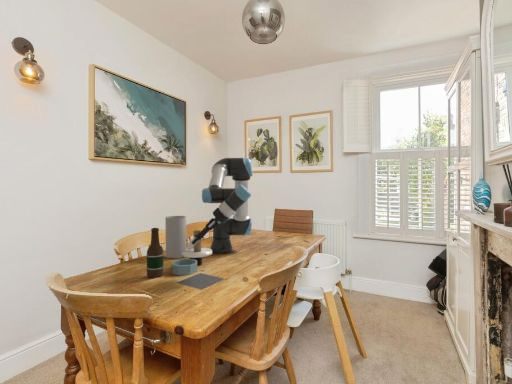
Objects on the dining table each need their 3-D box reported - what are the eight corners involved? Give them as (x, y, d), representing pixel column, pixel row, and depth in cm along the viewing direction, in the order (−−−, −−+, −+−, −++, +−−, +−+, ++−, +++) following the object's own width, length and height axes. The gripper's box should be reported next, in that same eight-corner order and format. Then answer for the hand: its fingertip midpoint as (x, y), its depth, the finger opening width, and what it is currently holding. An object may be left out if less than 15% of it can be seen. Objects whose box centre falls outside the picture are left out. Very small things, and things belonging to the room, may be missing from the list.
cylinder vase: (174, 252, 182) (174, 215, 181) (190, 254, 177) (190, 216, 176) (161, 257, 170) (161, 217, 169) (177, 259, 165) (177, 218, 165)
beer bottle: (146, 275, 137) (146, 227, 137) (162, 273, 140) (162, 226, 140) (147, 280, 130) (146, 229, 130) (164, 277, 133) (163, 228, 133)
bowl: (185, 266, 151) (185, 257, 151) (202, 270, 145) (202, 261, 145) (167, 272, 141) (167, 263, 140) (184, 277, 134) (184, 267, 134)
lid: (196, 248, 140) (196, 227, 140) (218, 252, 133) (218, 229, 132) (175, 255, 128) (175, 231, 128) (198, 259, 121) (197, 234, 120)
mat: (200, 273, 140) (200, 272, 140) (225, 279, 131) (225, 278, 131) (176, 283, 126) (176, 282, 126) (201, 290, 118) (201, 289, 118)
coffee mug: (200, 267, 149) (200, 249, 149) (185, 266, 151) (185, 249, 151) (208, 262, 161) (207, 245, 160) (194, 261, 162) (194, 244, 162)
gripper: (227, 220, 121) (190, 257, 122) (231, 215, 138) (198, 248, 139) (215, 208, 121) (178, 245, 122) (220, 205, 138) (188, 237, 139)
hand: (189, 246), depth 130 cm, fingers closed on lid, 3 cm apart
